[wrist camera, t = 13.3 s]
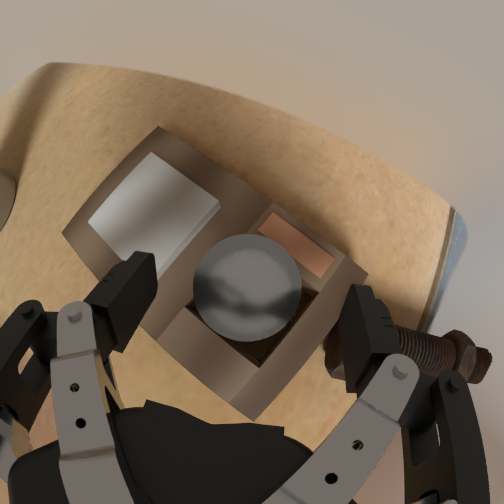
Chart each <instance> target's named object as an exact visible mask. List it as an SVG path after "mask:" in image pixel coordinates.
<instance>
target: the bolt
mask: <svg viewBox="0 0 504 504" xmlns="http://www.w3.org/2000/svg"><path fill="white" fill-rule="evenodd" d="M393 325H394V324H393ZM394 328H395V331H396V334H397V337H398V340H399V343H400V346H401V349H402V352H403V355H405V356H407V357H409V358H410V359H412V360H413V361H414V362H415V364H416V365H417V367H418V369H419V372H420V373H423V374H426V375H430V376H433V377H438V376H439V375H440V374H441V373H442V372H443V371H444V370H447V369H452V370H455V371H457V372H459V373H460V374H461V375H462V376H463V377H464V378H465V380H466V382H467V383H473V384H478V383H480V382H481V381H482V380H483V378H484V377H485V375H486V372H487V371H488V369H489V367H490V365H491V363H492V355H491V353H489V352H488V350H487V349H485V348H480V347H476V346H475V344H474V342H473V341H472V340H471V339H470V338H469V337H468V336H467V335H466V334H465V333H463V332H461V331H458V330H452V331H450V332H448V333H447V334H445V335H443V336H442V337H438V336H434V335H431V334H427V333H422V332H418V331H414V330H411V329H408V328H405V327H401V326H397V325H394ZM325 367H326V369H327V371H328V373H329V374H330V376H331V377H332V378H335V379H340V380H344V381H345V372H344V363H343V355H342V348H341V340H340V333H339V319H338V320H337V322H336V323H335V325H334V326H333V327H332V329H331V332H330V334H329V337H328V341H327V346H326V353H325Z"/></svg>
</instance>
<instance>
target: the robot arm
mask: <svg viewBox="0 0 504 504" xmlns="http://www.w3.org/2000/svg"><path fill="white" fill-rule="evenodd" d="M15 188H16V184H15V180H14V178H13V177H12V176H11V175H10V174H9V173H7V172H6V171H5V170H3V169H2V168H1V167H0V230H1V229H2V227H3V226H4V224H5V222H6V220H7V218H8V215H9V213H10V211H11V208H12V205H13V201H14V197H15ZM157 290H158V280H157V272H156V263H155V256H154V254H153V253H148V252H142V251H135V252H134V253H133V254H132V255H131V256H130V257H129V258H128V259H127V260H123V261H121V262H120V263H118V264H116V265H114V266H113V267H112V268H111V269H110V271H109V272H108V273H107V275H105V276H104V277H103V278H102V281H100V282H99V283H98V284H97V285H96V286H95V288H94V289H93V290H92V291H91V292H90V293H89V295H88V296H87V297H86V298H85V299H84V301H83V302H81V301H76V302H71V303H69V304H67V305H65V306H64V307H63V308H62V309H61V310H60V311H59V312H45V311H44V309H43V307H42V304H41V303H40V302H39V301H37V300H28V301H25V302H23V303H22V304H20V305H19V306H18V307H17V308H16V309H15V311H14V312H13V313H12V314H11V316H10V317H9V318H8V319H7V320H6V322H5V323H4V324H3V326H2V327H1V328H0V478H1V479H2V480H4V481H5V482H6V483H7V484H8V493H9V503H10V504H357V503H356V502H355V501H354V500H353V499H352V498H353V497H354V496H355V494H356V493H357V492H358V490H359V489H360V488H361V486H362V485H363V484H364V482H365V481H366V480H367V478H368V477H369V475H370V474H371V472H372V471H373V470H374V468H375V467H376V465H377V464H378V462H379V460H380V459H381V457H382V456H383V454H384V453H385V451H386V449H387V448H388V446H389V444H390V443H391V441H392V439H393V438H394V436H395V434H396V433H397V431H398V429H399V427H401V433H402V445H403V458H404V482H405V504H490V492H489V481H488V473H487V466H486V459H485V454H484V447H483V443H482V438H481V433H480V428H479V424H478V420H477V416H476V412H475V408H474V405H473V401H472V398H471V394H470V391H469V388H468V385H467V382H466V380H465V378H464V377H463V376H462V375H461V374H460V373H459V372H457V371H455V370H452V369H447V370H444V371H443V372H442V373H441V374H440V375H439V376H438V377H433V376H430V375H426V374H423V373H420V372H419V369H418V367H417V365H416V364H415V362H414V361H413V360H412V359H410V358H409V357H407V356H405V355H403V352H402V349H401V346H400V343H399V340H398V337H397V334H396V331H395V328H394V325H393V322H392V320H391V316H390V313H389V311H388V308H387V307H386V306H385V305H384V303H383V302H382V301H381V300H380V299H375V297H374V294H373V291H372V288H371V286H369V285H361V284H351V286H350V288H349V291H348V293H347V296H346V299H345V302H344V304H343V307H342V310H341V312H340V316H339V333H340V340H341V348H342V355H343V363H344V372H345V381H346V391H347V393H357V400H356V401H355V403H354V404H353V405H352V407H351V408H350V409H349V410H348V412H347V413H346V414H345V416H344V417H343V418H342V419H341V421H340V422H339V423H338V424H337V426H336V427H335V428H334V429H333V430H332V432H331V433H330V434H329V435H328V436H327V437H326V439H325V440H324V441H323V442H322V443H321V444H320V445H319V446H318V447H317V449H316V450H315V451H314V452H312V451H311V450H310V449H309V448H308V447H306V446H305V445H304V444H302V443H300V442H298V441H297V440H295V439H292V438H290V437H287V436H284V427H280V426H271V425H262V424H255V423H238V424H209V423H207V422H205V421H202V420H200V419H198V418H196V417H194V416H192V415H190V414H188V413H186V412H184V411H182V410H180V409H178V408H175V407H171V406H167V405H164V404H160V403H157V402H154V401H150V400H146V402H145V404H144V407H132V408H125V407H124V405H123V403H122V400H121V398H120V394H119V391H118V387H117V383H116V380H115V376H114V371H113V367H112V363H111V359H110V356H109V355H110V353H111V352H112V350H114V351H117V352H120V353H123V351H124V350H125V348H126V346H127V344H128V343H129V341H130V339H131V337H132V336H133V334H134V332H135V330H136V329H137V327H138V325H139V324H140V322H141V320H142V319H143V317H144V315H145V314H146V312H147V310H148V309H149V307H150V305H151V304H152V302H153V300H154V299H155V297H156V294H157ZM29 347H30V348H31V350H32V351H33V353H34V354H33V355H32V357H31V358H30V360H29V361H28V363H27V364H26V366H25V368H24V369H23V371H22V373H21V374H19V372H18V365H19V362H20V360H21V359H22V357H23V356H24V354H25V353H26V351H27V350H28V348H29ZM51 387H52V398H53V407H54V415H55V422H56V429H57V435H58V440H56V441H54V442H51V443H49V444H47V445H45V446H43V447H40V448H38V449H36V450H33V447H32V444H31V443H30V437H29V432H30V429H31V427H32V425H33V423H34V421H35V419H36V416H37V414H38V412H39V410H40V408H41V406H42V404H43V402H44V400H45V398H46V396H47V395H48V393H49V391H50V389H51ZM436 424H438V430H439V437H440V446H439V441H438V435H437V429H436ZM32 450H33V451H32Z"/></svg>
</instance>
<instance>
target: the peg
mask: <svg viewBox="0 0 504 504" xmlns="http://www.w3.org/2000/svg"><path fill="white" fill-rule="evenodd" d="M301 290H302V285H301V277H300V273H299V270H298V267H297V265H296V263H295V261H294V259H293V258H292V256H291V255H290V254H289V253H288V252H287V250H286V249H284V248H283V247H282V246H281V245H280V244H278V243H277V242H275V241H273V240H271V239H269V238H267V237H264V236H260V235H255V234H240V235H235V236H231V237H228V238H226V239H224V240H221V241H220V242H218V243H216V244H215V245H214V246H213V247H211V248H210V249H209V250H208V251H207V252H206V253H205V255H204V256H203V257H202V259H201V260H200V262H199V264H198V266H197V269H196V271H195V275H194V280H193V296H194V301H195V305H196V307H197V310H198V312H199V314H200V315H201V317H202V319H203V320H204V321H205V322H206V324H207V325H208V326H209V327H210V328H211V329H213V330H214V331H216V332H217V333H218V334H220V335H222V336H224V337H227V338H229V339H232V340H237V341H257V340H261V339H265V338H267V337H270V336H272V335H274V334H275V333H277V332H279V331H280V330H281V329H282V328H284V327H285V326H286V325H287V324H288V322H289V321H290V320H291V319H292V317H293V316H294V314H295V312H296V310H297V308H298V305H299V302H300V298H301Z"/></svg>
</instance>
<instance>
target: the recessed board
mask: <svg viewBox="0 0 504 504" xmlns="http://www.w3.org/2000/svg"><path fill="white" fill-rule="evenodd" d="M62 234H63V236H64V237H65V238H66V240H67V241H68V242H69V244H70V245H71V246H72V248H73V249H74V250H75V252H76V253H77V254H78V256H79V257H80V258H81V259H82V261H83V262H84V263H85V264H86V266H87V267H88V268H89V269H90V271H91V272H92V273H93V274H94V275H95V277H96V278H97V279H98V280H99V281H102V278H103V277H104V276H105V275H107V273H108V272H109V271H110V269H111V268H112V267H113V266H114V265H116V264H118V263H120V262H121V261H123V260H127V259H128V258H129V257H130V256H131V255H132V254H133V253H134V252H135V251H142V252H148V253H153V254H154V256H155V263H156V272H157V280H158V290H157V294H156V297H155V299H154V300H153V302H152V304H151V305H150V307H149V309H148V310H147V312H146V314H145V315H144V317H143V319H142V320H141V322H140V324H139V325H140V326H141V327H142V328H143V329H144V330H145V331H146V332H147V333H148V334H149V335H150V336H151V337H152V338H153V339H154V340H155V341H156V342H157V343H158V344H159V345H160V346H161V347H162V348H163V349H164V350H165V351H167V352H168V353H169V354H170V355H171V356H172V357H173V358H174V359H175V360H176V361H178V362H179V363H180V364H181V365H182V366H183V367H184V368H185V369H187V370H188V371H189V372H190V373H191V374H192V375H194V376H195V377H196V378H197V379H198V380H200V381H201V382H202V383H203V384H204V385H206V386H207V387H208V388H209V389H211V390H212V391H213V392H214V393H216V394H217V395H218V396H219V397H221V398H222V399H223V400H225V401H226V402H227V403H229V404H230V405H231V406H233V407H234V408H235V409H237V410H238V411H239V412H241V413H242V414H243V415H245V416H246V417H248V418H249V419H250V420H252V421H253V422H254V421H255V420H256V419H257V418H258V416H259V415H260V414H261V413H262V412H263V411H264V410H265V409H266V408H267V407H268V406H269V405H270V403H271V402H272V401H273V400H274V399H275V398H276V397H277V396H278V395H279V393H280V392H281V391H282V390H283V389H284V388H285V386H286V385H287V384H288V383H289V382H290V381H291V379H292V378H293V377H294V376H295V375H296V373H297V372H298V371H299V370H300V369H301V367H302V366H303V365H304V364H305V362H306V361H307V360H308V359H309V357H310V356H311V355H312V354H313V352H314V351H315V350H316V349H317V347H318V346H319V345H320V343H321V342H322V341H323V339H324V338H325V337H326V335H327V334H328V333H329V331H330V330H331V329H332V327H333V326H334V325H335V323H336V322H337V320H338V319H339V316H340V312H341V310H342V307H343V304H344V302H345V299H346V296H347V293H348V291H349V288H350V286H351V284H361V285H362V284H363V282H364V281H365V279H366V278H367V276H368V275H369V274H368V273H367V272H366V271H364V270H363V269H362V268H361V267H359V266H358V265H357V264H356V263H354V262H353V261H352V260H351V259H349V258H348V257H347V256H345V255H344V254H343V253H342V252H340V251H339V250H338V249H336V248H335V247H334V246H333V245H331V244H330V243H329V242H327V241H326V240H325V239H323V238H322V237H321V236H319V235H318V234H317V233H316V232H314V231H313V230H312V229H310V228H309V227H307V226H306V225H305V224H303V223H302V222H301V221H299V220H298V219H297V218H295V217H294V216H293V215H291V214H290V213H288V212H287V211H286V210H284V209H283V208H282V207H280V206H279V205H277V204H276V203H275V202H273V201H272V200H270V199H269V198H267V197H266V196H265V195H263V194H262V193H260V192H259V191H258V190H256V189H255V188H253V187H252V186H250V185H249V184H247V183H246V182H244V181H243V180H242V179H240V178H239V177H237V176H236V175H234V174H233V173H231V172H230V171H228V170H227V169H225V168H224V167H222V166H221V165H219V164H218V163H216V162H215V161H213V160H212V159H210V158H209V157H207V156H205V155H204V154H202V153H201V152H199V151H198V150H196V149H195V148H193V147H191V146H190V145H188V144H187V143H185V142H184V141H182V140H180V139H179V138H177V137H176V136H174V135H172V134H171V133H169V132H167V131H166V130H164V129H163V128H161V127H159V126H158V127H157V128H156V129H155V130H153V131H152V132H151V133H150V134H149V135H148V136H147V137H146V138H145V139H144V140H143V141H142V142H141V143H140V144H139V145H138V146H136V147H135V148H134V149H133V150H132V151H131V152H130V153H129V154H128V155H127V156H126V157H125V158H124V159H123V160H122V162H121V163H120V164H119V165H118V166H117V167H116V168H115V169H114V170H113V171H112V172H111V173H110V174H109V175H108V176H107V178H106V179H105V180H104V181H103V182H102V183H101V184H100V185H99V187H98V188H97V189H96V190H95V191H94V192H93V193H92V195H91V196H90V197H89V198H88V199H87V201H86V202H85V203H84V204H83V205H82V207H81V208H80V209H79V210H78V212H77V213H76V214H75V216H74V217H73V218H72V219H71V221H70V222H69V223H68V225H67V226H66V227H65V229H64V230H63V231H62ZM240 234H255V235H260V236H264V237H267V238H269V239H271V240H273V241H275V242H277V243H278V244H280V245H281V246H282V247H283V248H284V249H286V250H287V252H288V253H289V254H290V255H291V256H292V258H293V259H294V261H295V263H296V265H297V267H298V270H299V273H300V277H301V285H302V291H304V292H305V293H306V294H308V295H309V296H310V297H311V298H310V299H309V300H308V302H307V303H306V304H305V306H304V307H303V308H302V310H301V311H300V312H299V314H298V315H297V316H296V317H295V319H294V320H293V321H292V323H291V324H290V325H289V326H288V328H287V329H286V330H285V331H284V333H283V334H282V335H281V336H280V338H279V339H278V340H277V341H276V342H275V344H274V345H273V346H272V347H271V349H270V350H269V351H268V352H267V353H266V355H265V356H264V357H263V358H262V359H261V361H260V362H258V361H257V360H256V359H254V358H253V357H252V356H251V355H249V354H248V353H247V352H245V351H244V350H243V349H242V348H240V347H239V346H238V345H237V344H235V343H234V342H233V341H232V340H231V339H229V338H227V337H224V336H222V335H220V334H218V333H217V332H216V331H214V330H213V329H211V328H210V327H209V326H208V325H207V324H206V322H205V321H204V320H203V319H202V317H201V315H200V314H199V313H198V312H197V311H196V310H195V309H196V308H197V307H196V305H195V301H194V296H193V280H194V275H195V271H196V269H197V266H198V264H199V262H200V260H201V259H202V257H203V256H204V255H205V253H206V252H207V251H208V250H209V249H210V248H211V247H213V246H214V245H215V244H216V243H218V242H220V241H221V240H224V239H226V238H228V237H231V236H235V235H240Z"/></svg>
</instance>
